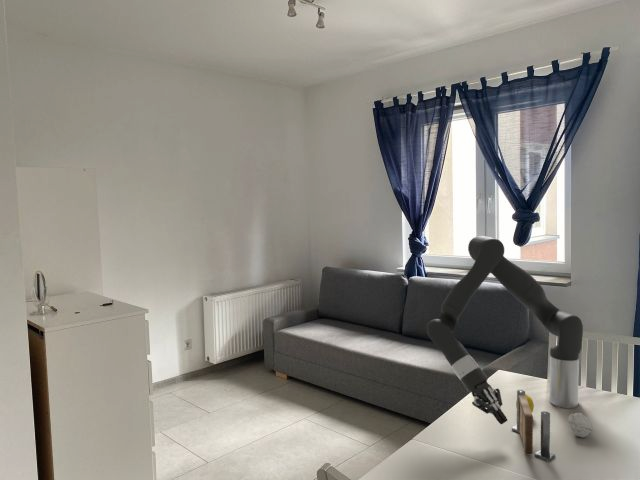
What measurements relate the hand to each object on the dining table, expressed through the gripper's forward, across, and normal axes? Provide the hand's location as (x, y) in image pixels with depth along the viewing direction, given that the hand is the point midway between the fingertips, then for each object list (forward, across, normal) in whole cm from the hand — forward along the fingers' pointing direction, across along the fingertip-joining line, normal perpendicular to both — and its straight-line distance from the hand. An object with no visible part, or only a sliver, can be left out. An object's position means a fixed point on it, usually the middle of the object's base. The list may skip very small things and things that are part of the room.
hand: (504, 422), depth 145 cm
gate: (+7, +4, +1) cm, 8 cm away
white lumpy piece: (+14, +22, -4) cm, 26 cm away
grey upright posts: (+9, +7, +1) cm, 11 cm away
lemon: (+2, +22, +8) cm, 23 cm away
